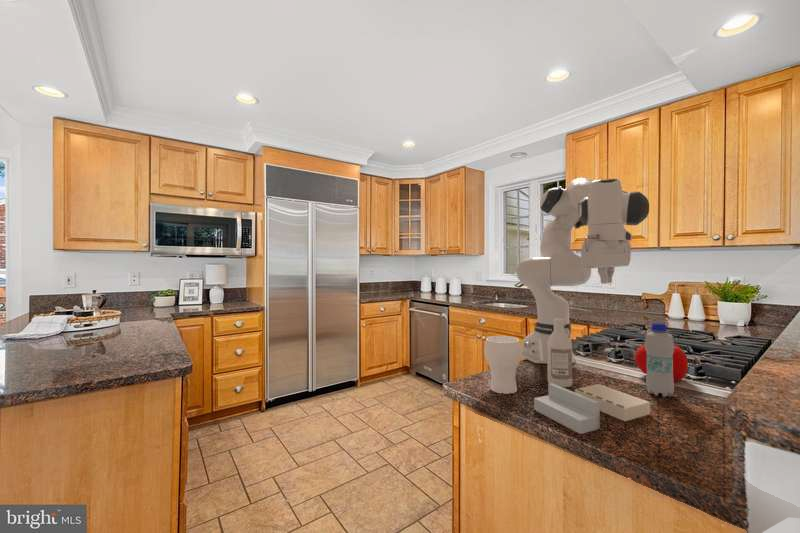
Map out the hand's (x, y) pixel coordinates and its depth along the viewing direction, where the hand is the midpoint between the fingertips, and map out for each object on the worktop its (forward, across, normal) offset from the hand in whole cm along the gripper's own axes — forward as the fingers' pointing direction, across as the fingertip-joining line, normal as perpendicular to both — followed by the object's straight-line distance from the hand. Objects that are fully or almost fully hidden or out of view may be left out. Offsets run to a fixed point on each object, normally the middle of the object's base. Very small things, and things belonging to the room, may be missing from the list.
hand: (606, 283), depth 102 cm
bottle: (+31, +8, -10) cm, 34 cm away
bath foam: (+31, -6, +11) cm, 34 cm away
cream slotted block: (+31, -11, -6) cm, 33 cm away
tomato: (+31, +24, -4) cm, 39 cm away
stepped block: (+31, -26, -3) cm, 41 cm away
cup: (+31, -23, +18) cm, 43 cm away
